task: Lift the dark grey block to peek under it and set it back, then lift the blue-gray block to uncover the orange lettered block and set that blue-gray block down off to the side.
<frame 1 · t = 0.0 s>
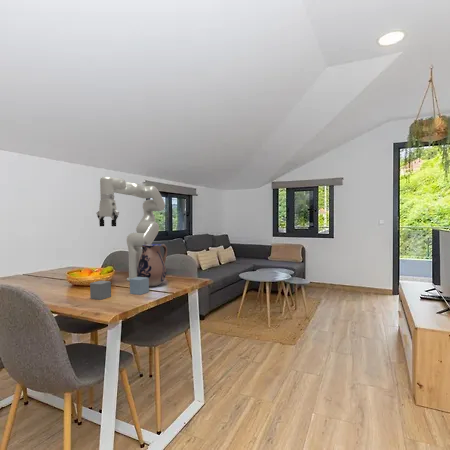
hand: (107, 226, 185), 37 cm above the table, tool pointing down, fingers open, 9 cm apart
ceramic pitcher: (153, 284, 192), on the table
blue-gray block: (139, 292, 171), on the table
letter block: (139, 289, 171), in the blue-gray block
dark grey block: (100, 297, 162), on the table
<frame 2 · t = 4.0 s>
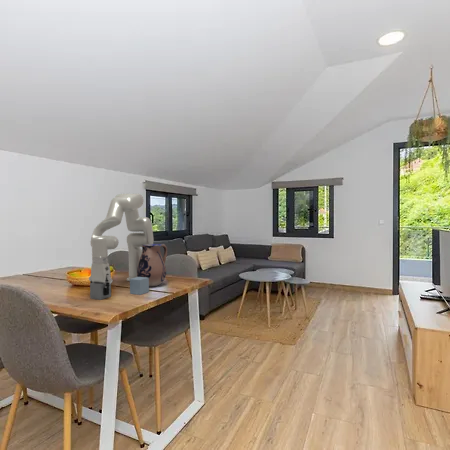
hand: (100, 294, 162), 2 cm above the table, tool pointing down, fingers closed on dark grey block, 7 cm apart
dark grey block: (100, 297, 162), on the table, touching gripper
everything else where it was.
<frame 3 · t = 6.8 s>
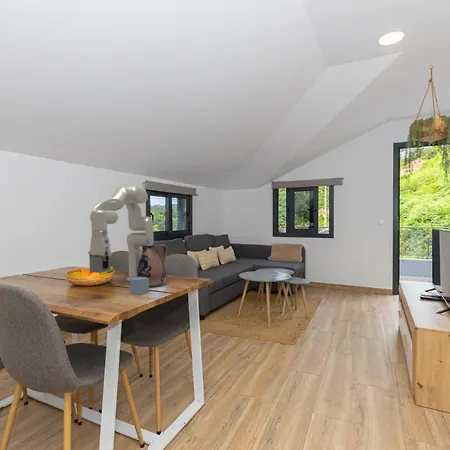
hand: (100, 267, 161), 16 cm above the table, tool pointing down, fingers closed on dark grey block, 7 cm apart
dark grey block: (100, 271, 161), point 14 cm above the table, touching gripper
everything else where it was.
when the fingers open (3 cm above the table, at t = 9.9 s): dark grey block drops 1 cm, on the table.
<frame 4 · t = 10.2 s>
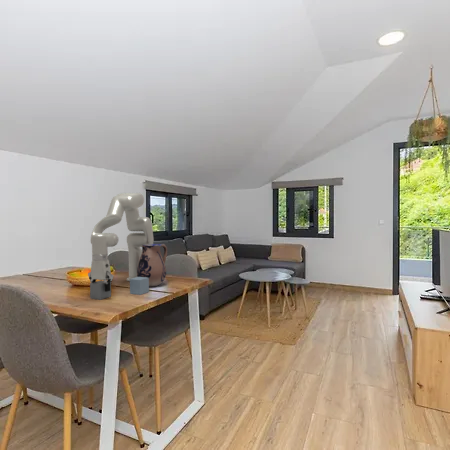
hand: (100, 290, 162), 4 cm above the table, tool pointing down, fingers open, 9 cm apart
dark grey block: (100, 297, 162), on the table
everything else where it was.
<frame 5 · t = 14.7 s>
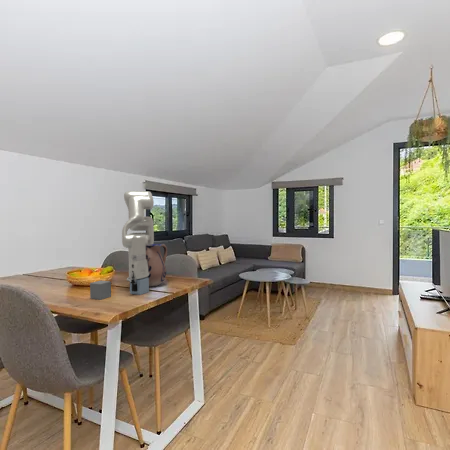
hand: (139, 289, 171), 2 cm above the table, tool pointing down, fingers closed on blue-gray block, 7 cm apart
blue-gray block: (139, 292, 171), on the table, touching gripper
everything else where it was.
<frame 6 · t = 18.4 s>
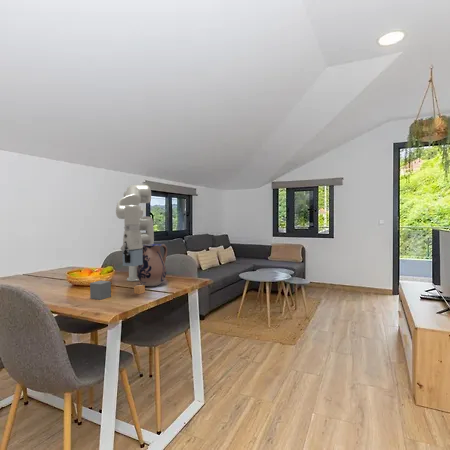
hand: (132, 261, 163), 18 cm above the table, tool pointing down, fingers closed on blue-gray block, 7 cm apart
blue-gray block: (132, 265, 163), point 17 cm above the table, touching gripper
everything else where it was.
when the fingers open (3 cm above the table, at t = 22.3 s): blue-gray block drops 1 cm, on the table.
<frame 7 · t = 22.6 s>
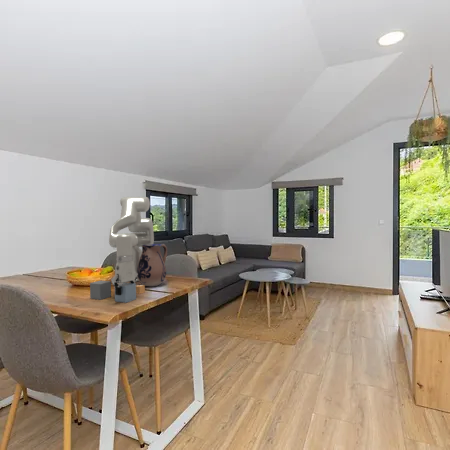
hand: (125, 292, 156), 4 cm above the table, tool pointing down, fingers open, 9 cm apart
blue-gray block: (125, 300, 156), on the table
everything else where it was.
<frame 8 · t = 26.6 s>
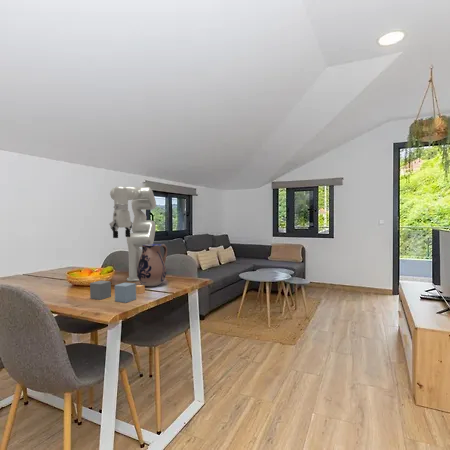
hand: (121, 237, 179), 30 cm above the table, tool pointing down, fingers open, 9 cm apart
nothing on the table moved.
at the end: blue-gray block inside the target area (0.1 cm from its centre), on the table; blue-gray block tilted 0°; dark grey block moved 0.1 cm from its start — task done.
